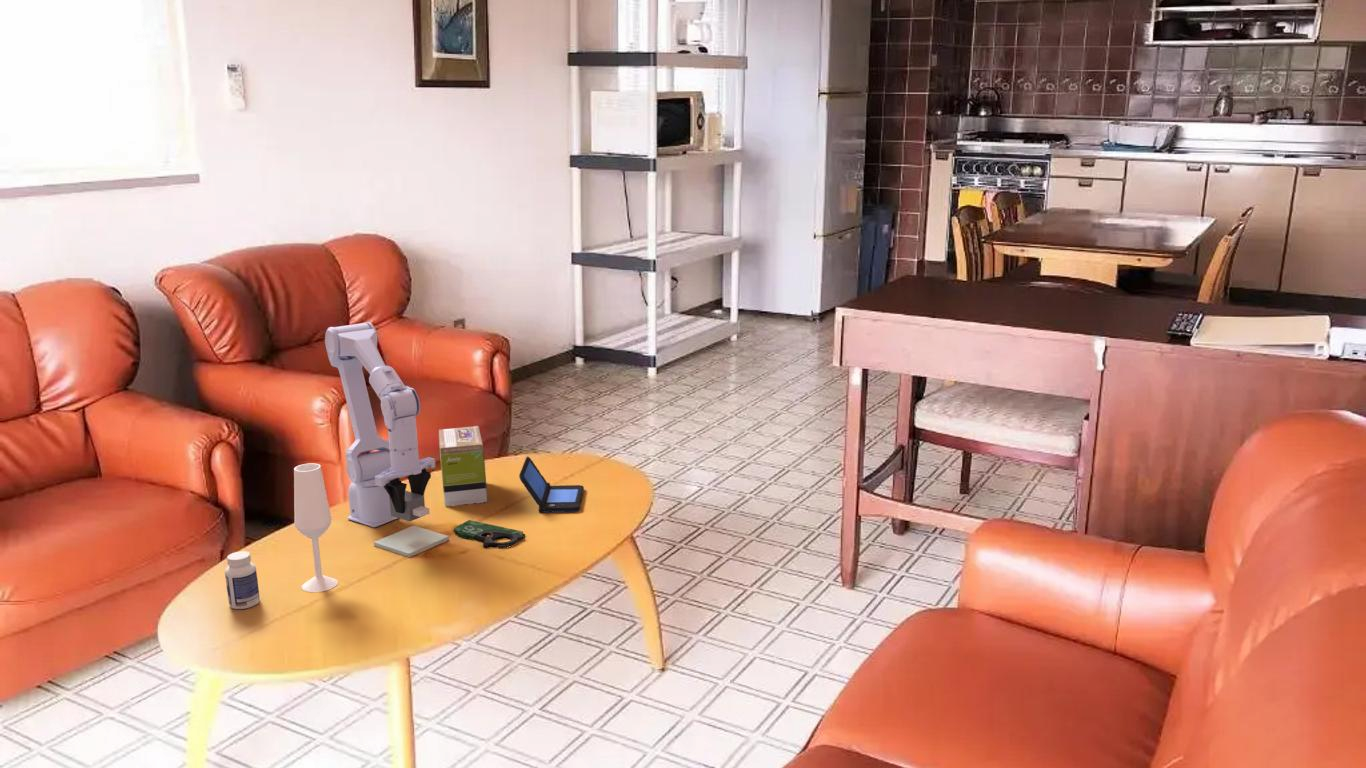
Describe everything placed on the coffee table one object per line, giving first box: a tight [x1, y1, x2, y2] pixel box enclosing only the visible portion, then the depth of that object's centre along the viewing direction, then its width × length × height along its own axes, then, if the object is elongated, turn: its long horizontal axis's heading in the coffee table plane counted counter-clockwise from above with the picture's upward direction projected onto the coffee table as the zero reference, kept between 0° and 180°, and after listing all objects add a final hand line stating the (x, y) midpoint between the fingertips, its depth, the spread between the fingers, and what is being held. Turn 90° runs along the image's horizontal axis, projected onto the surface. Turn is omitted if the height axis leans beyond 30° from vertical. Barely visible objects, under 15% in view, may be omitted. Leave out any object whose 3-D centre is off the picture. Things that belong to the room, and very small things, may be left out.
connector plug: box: [389, 490, 430, 522], centre depth 227 cm, size 8×4×4 cm, turn 55°
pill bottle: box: [224, 550, 261, 610], centre depth 201 cm, size 5×5×10 cm
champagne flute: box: [293, 462, 339, 593], centre depth 207 cm, size 7×7×24 cm
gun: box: [453, 519, 526, 549], centre depth 232 cm, size 16×1×10 cm
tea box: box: [438, 425, 488, 507], centre depth 256 cm, size 15×10×15 cm, turn 14°
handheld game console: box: [518, 456, 585, 514], centre depth 252 cm, size 16×13×9 cm
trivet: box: [373, 525, 450, 558], centre depth 230 cm, size 11×11×1 cm
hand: (408, 508), depth 228 cm, fingers closed on connector plug, 4 cm apart
